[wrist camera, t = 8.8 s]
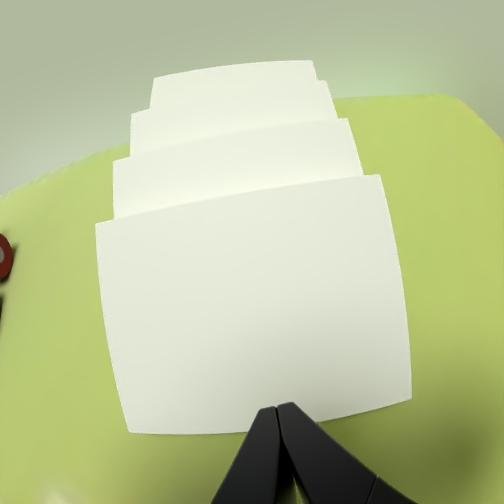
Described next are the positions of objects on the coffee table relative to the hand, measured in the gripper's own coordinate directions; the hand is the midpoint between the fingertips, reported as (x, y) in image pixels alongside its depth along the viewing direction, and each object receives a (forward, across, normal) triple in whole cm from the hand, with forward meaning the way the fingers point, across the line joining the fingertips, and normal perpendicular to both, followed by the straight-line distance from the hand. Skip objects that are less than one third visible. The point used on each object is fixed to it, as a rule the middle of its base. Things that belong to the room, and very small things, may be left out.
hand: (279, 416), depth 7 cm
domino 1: (+5, +1, +5) cm, 7 cm away
